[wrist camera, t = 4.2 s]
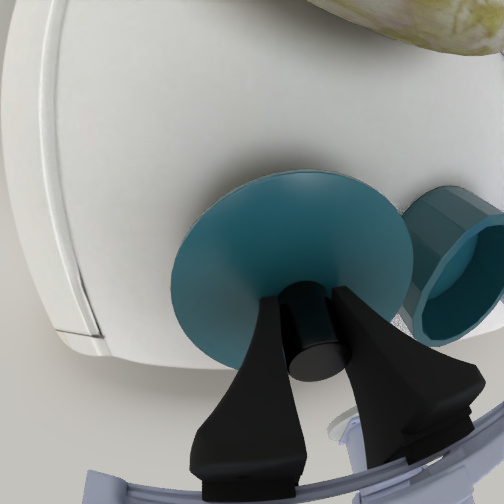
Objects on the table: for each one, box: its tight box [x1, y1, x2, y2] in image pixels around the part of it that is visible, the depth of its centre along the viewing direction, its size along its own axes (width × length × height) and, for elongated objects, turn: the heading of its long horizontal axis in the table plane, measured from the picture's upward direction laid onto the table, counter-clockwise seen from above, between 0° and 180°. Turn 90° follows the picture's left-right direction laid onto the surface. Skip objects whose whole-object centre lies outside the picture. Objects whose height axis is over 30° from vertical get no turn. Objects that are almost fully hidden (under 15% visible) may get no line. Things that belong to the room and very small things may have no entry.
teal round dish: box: [398, 186, 504, 347], centre depth 15 cm, size 10×10×5 cm
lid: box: [170, 169, 414, 382], centre depth 11 cm, size 11×11×5 cm
